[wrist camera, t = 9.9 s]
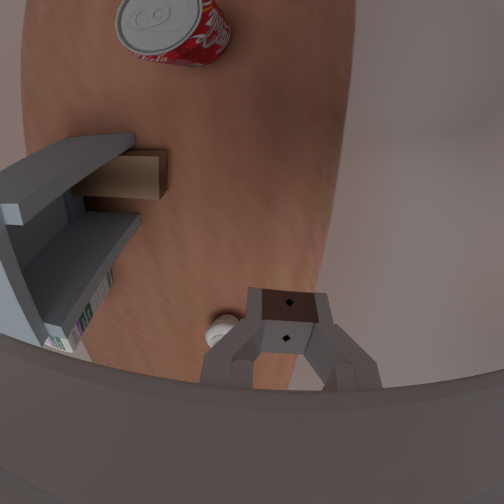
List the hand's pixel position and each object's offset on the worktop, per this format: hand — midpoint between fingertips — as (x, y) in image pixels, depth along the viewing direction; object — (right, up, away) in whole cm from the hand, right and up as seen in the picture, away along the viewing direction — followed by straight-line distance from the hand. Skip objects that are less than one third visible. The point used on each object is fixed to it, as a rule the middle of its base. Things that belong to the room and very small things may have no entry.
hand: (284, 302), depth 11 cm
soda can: (-7, +24, +13) cm, 29 cm away
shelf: (-20, +11, +22) cm, 32 cm away
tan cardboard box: (-17, +12, +22) cm, 30 cm away
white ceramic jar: (-5, -9, +35) cm, 36 cm away
